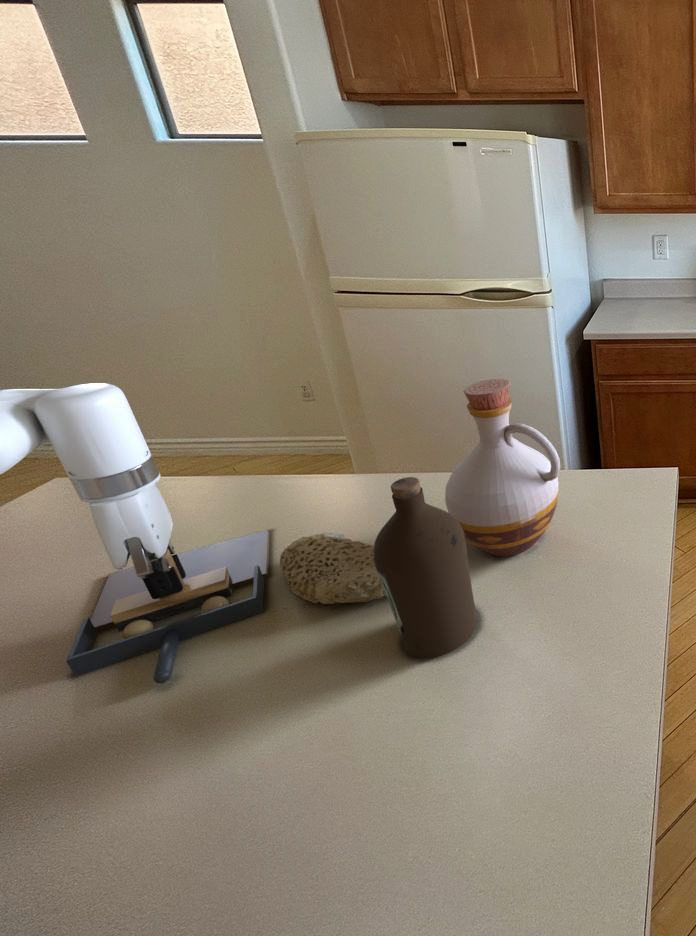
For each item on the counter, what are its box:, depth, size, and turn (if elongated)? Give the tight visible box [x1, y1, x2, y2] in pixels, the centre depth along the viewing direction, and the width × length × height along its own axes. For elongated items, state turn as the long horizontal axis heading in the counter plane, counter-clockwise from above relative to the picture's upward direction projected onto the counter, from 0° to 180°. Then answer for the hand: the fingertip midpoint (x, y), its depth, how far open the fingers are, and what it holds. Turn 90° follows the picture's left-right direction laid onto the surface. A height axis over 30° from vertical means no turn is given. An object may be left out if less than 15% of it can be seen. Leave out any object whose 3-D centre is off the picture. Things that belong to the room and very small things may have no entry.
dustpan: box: [65, 565, 265, 684], centre depth 75 cm, size 17×19×3 cm
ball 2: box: [200, 596, 230, 614], centre depth 80 cm, size 3×3×3 cm
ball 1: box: [121, 620, 155, 640], centre depth 76 cm, size 3×3×3 cm
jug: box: [444, 378, 561, 557], centre depth 91 cm, size 20×18×30 cm
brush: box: [110, 549, 233, 633], centre depth 79 cm, size 12×4×9 cm, turn 126°
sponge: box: [279, 532, 387, 605], centre depth 86 cm, size 13×8×20 cm
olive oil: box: [373, 476, 478, 659], centre depth 73 cm, size 11×11×25 cm
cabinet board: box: [90, 528, 271, 632], centre depth 87 cm, size 20×14×1 cm
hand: (169, 586), depth 79 cm, fingers closed on brush, 2 cm apart
